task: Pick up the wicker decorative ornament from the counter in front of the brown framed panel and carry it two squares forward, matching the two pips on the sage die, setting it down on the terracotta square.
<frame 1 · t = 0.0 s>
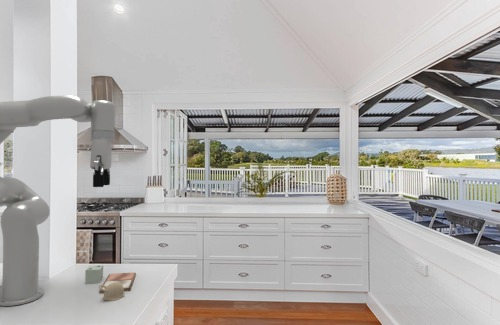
hand: (101, 185, 107), 37 cm above the counter, tool pointing down, fingers open, 9 cm apart
die: (94, 280, 117), on the counter
brown framed panel: (119, 283, 115), on the counter
decorative ornament: (112, 299, 102), on the counter
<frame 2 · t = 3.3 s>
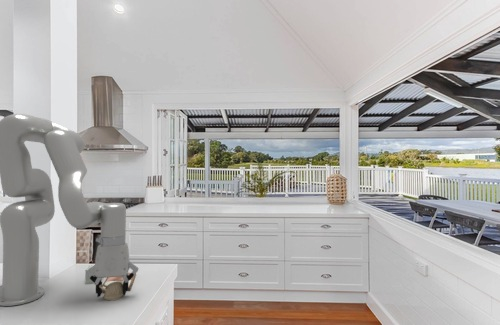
hand: (112, 294, 102), 1 cm above the counter, tool pointing down, fingers closed on decorative ornament, 7 cm apart
decorative ornament: (112, 298, 103), on the counter, touching gripper
when the fingers open (3 cm above the counter, at t = 11.9 s): decorative ornament stays where it is, resting on brown framed panel.
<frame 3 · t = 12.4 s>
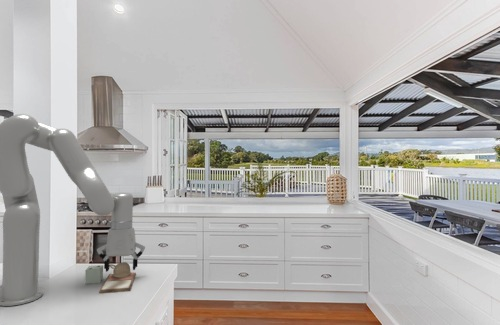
hand: (121, 269, 119), 4 cm above the counter, tool pointing down, fingers open, 9 cm apart
decorative ornament: (120, 276, 119), point 1 cm above the counter, touching brown framed panel
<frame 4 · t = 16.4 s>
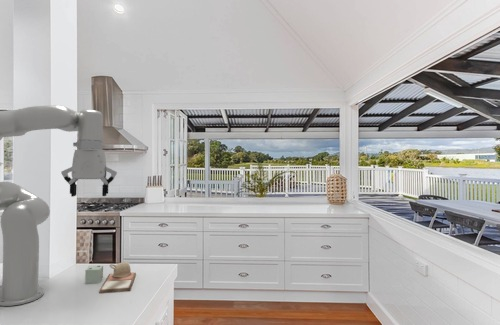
hand: (89, 195, 106), 33 cm above the counter, tool pointing down, fingers open, 9 cm apart
nothing on the counter moved.
at the end: decorative ornament 0.5 cm from the target spot on the brown framed panel, point 1.0 cm above the brown framed panel's base; decorative ornament tilted 1°; the gripper is holding nothing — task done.
